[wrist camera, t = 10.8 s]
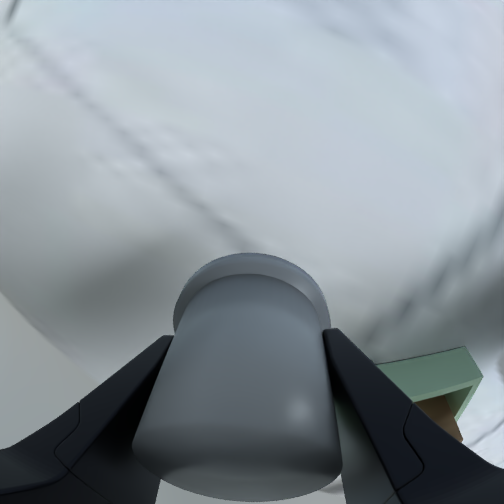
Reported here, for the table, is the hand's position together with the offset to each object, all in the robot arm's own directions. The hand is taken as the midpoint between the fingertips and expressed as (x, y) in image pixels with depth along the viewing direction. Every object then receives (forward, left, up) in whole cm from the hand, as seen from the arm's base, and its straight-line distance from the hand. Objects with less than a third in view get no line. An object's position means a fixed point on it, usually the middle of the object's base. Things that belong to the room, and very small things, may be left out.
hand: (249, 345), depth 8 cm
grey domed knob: (0, 0, -1) cm, 1 cm away
